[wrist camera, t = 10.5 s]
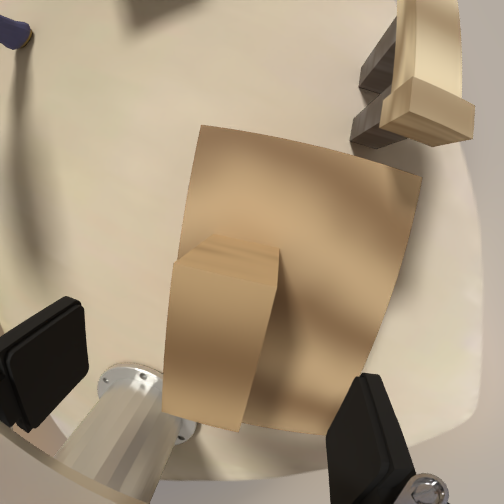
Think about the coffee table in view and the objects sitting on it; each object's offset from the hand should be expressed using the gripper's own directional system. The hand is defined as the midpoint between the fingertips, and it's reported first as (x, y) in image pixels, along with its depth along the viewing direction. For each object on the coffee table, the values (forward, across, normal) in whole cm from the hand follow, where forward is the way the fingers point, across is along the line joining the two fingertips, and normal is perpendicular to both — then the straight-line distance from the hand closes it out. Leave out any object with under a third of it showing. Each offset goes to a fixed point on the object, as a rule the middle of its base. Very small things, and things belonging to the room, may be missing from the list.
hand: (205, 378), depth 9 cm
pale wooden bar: (+8, -7, -16) cm, 19 cm away
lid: (+9, -2, +1) cm, 9 cm away
